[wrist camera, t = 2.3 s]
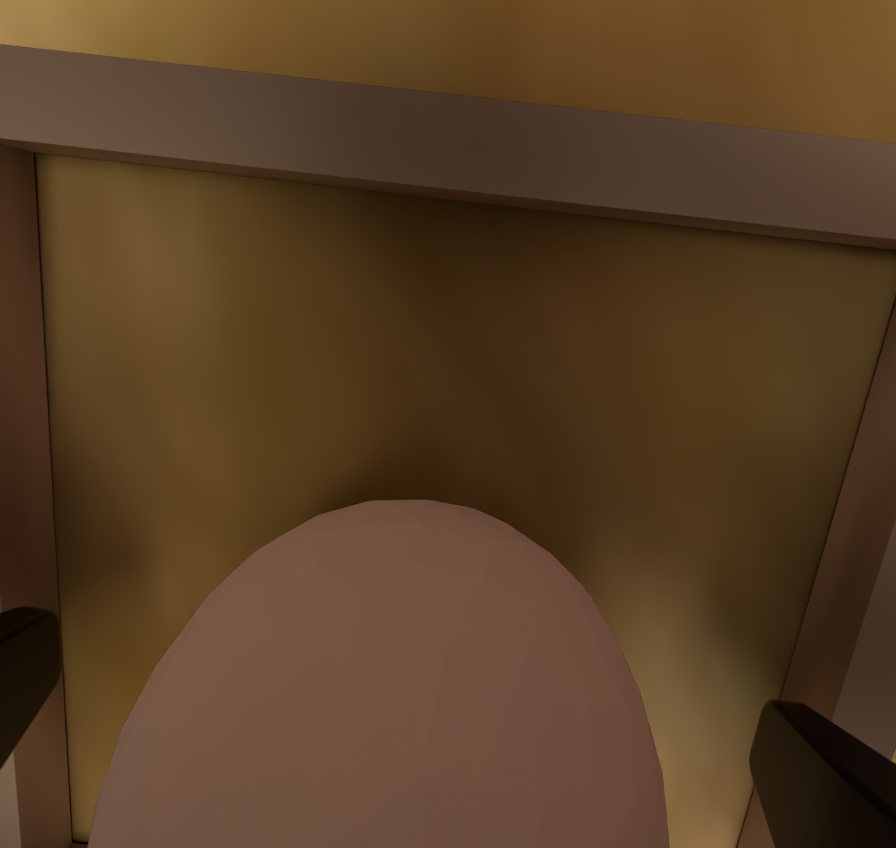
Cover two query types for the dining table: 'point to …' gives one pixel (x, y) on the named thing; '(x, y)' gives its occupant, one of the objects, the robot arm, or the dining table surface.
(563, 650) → the egg
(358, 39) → the dining table surface
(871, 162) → the walnut frame
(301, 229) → the dining table surface
